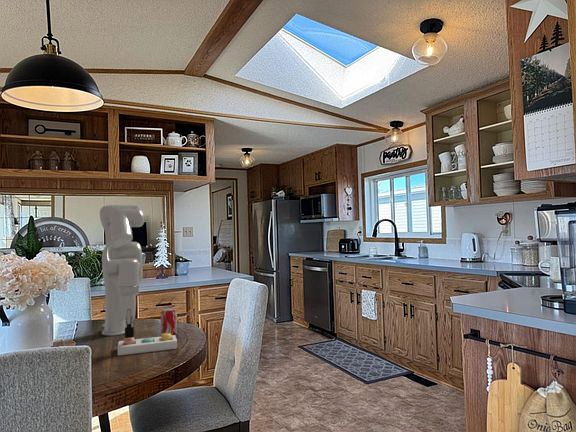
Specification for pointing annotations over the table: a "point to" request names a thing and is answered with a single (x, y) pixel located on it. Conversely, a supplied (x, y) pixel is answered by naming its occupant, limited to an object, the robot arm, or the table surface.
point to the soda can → (169, 321)
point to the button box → (147, 346)
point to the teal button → (147, 340)
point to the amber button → (165, 336)
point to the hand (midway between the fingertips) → (129, 337)
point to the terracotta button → (129, 341)
